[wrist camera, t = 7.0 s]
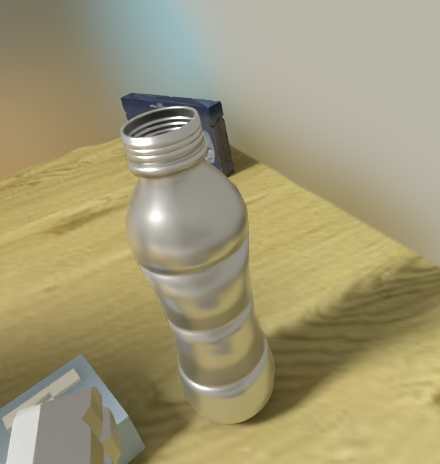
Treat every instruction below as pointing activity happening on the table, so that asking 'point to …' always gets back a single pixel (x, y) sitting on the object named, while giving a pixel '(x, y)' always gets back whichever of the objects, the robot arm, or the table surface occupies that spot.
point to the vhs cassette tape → (208, 116)
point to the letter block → (64, 383)
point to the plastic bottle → (197, 263)
